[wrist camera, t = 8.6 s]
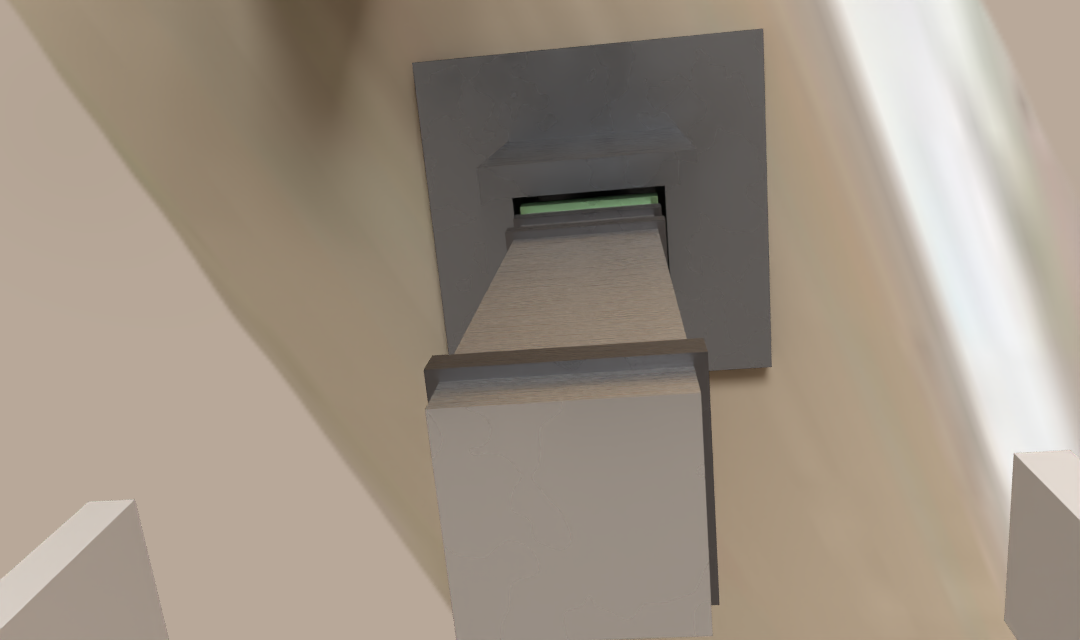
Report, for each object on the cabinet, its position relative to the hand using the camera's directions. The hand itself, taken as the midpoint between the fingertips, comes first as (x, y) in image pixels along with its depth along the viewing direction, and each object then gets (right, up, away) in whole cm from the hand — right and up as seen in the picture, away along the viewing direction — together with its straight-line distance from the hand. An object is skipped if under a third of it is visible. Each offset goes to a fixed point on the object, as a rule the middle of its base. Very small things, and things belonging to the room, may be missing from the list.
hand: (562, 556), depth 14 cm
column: (+2, +6, +23) cm, 24 cm away
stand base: (+2, +9, +31) cm, 32 cm away
